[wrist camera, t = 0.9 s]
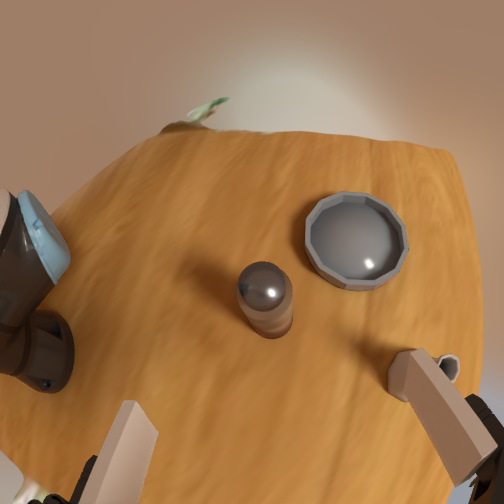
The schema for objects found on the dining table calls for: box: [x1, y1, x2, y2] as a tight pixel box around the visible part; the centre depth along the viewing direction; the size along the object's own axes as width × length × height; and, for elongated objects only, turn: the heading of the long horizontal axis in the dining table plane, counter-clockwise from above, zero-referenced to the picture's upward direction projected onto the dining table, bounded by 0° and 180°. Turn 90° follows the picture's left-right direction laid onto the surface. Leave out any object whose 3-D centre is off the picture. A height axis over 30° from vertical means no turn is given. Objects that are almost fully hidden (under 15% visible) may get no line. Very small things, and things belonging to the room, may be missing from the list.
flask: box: [387, 349, 460, 402], centre depth 24 cm, size 7×7×10 cm
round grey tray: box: [305, 191, 409, 291], centre depth 37 cm, size 15×15×2 cm
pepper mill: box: [236, 262, 293, 339], centre depth 29 cm, size 5×5×13 cm
